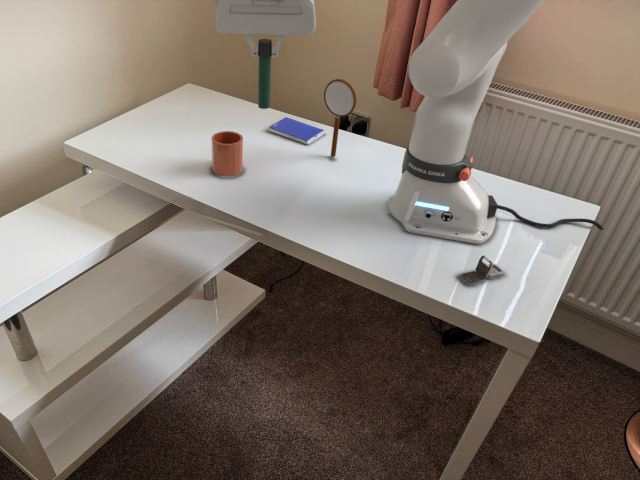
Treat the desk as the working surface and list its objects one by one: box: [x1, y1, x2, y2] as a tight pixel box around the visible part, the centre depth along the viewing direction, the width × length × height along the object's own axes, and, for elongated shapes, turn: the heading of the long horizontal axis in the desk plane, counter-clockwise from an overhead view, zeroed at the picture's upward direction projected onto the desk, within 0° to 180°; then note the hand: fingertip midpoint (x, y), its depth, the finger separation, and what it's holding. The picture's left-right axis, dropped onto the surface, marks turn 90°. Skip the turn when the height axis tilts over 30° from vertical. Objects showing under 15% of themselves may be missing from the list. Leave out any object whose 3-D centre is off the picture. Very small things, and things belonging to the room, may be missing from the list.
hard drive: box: [268, 116, 325, 145], centre depth 154 cm, size 2×8×12 cm
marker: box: [257, 38, 273, 110], centre depth 123 cm, size 3×3×14 cm
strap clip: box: [459, 255, 505, 286], centre depth 108 cm, size 8×3×4 cm, turn 114°
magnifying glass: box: [323, 78, 357, 160], centre depth 138 cm, size 9×2×20 cm, turn 50°
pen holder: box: [211, 130, 244, 177], centre depth 136 cm, size 7×7×8 cm
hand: (265, 55), depth 120 cm, fingers closed on marker, 3 cm apart
